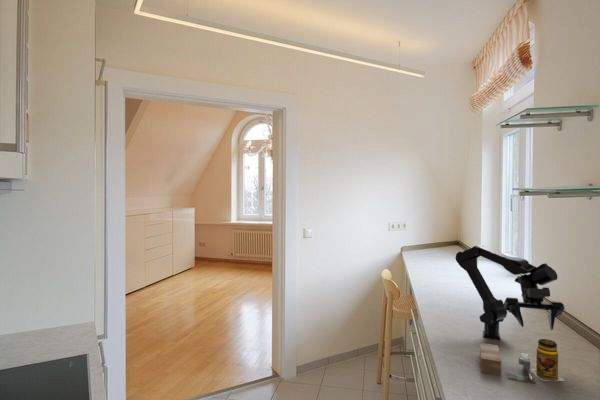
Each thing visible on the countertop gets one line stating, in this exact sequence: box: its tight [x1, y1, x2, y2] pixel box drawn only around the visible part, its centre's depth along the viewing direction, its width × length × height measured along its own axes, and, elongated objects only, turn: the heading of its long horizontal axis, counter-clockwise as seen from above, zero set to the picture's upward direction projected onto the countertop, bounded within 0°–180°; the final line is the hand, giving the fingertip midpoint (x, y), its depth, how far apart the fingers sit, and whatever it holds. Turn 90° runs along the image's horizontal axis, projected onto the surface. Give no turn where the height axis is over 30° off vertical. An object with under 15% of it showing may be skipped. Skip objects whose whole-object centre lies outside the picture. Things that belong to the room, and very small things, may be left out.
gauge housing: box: [479, 342, 537, 384], centre depth 131 cm, size 15×16×5 cm
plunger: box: [518, 352, 533, 380], centre depth 128 cm, size 11×3×4 cm, turn 156°
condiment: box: [530, 338, 565, 382], centre depth 127 cm, size 7×8×12 cm
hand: (537, 328), depth 134 cm, fingers open, 9 cm apart
